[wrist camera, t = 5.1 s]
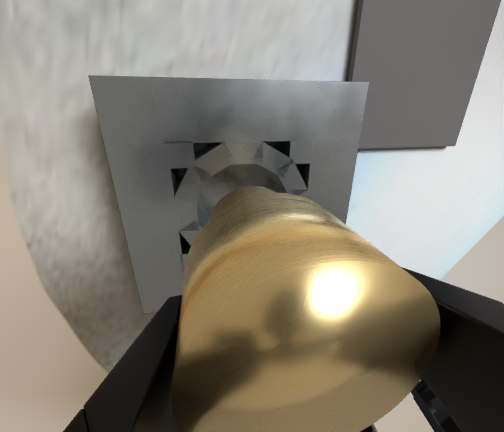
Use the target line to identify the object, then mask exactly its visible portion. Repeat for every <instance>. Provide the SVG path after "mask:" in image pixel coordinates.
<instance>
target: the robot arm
mask: <svg viewBox="0 0 504 432" xmlns="http://www.w3.org/2000/svg"><path fill="white" fill-rule="evenodd" d="M401 268H402V267H401ZM403 269H404V270H405V271H406V272H408V273H409V274H410V275H412V276H413V277H414V278H415V279H417V280H418V281H419V282H421V283H422V284H423V285H424V287H425V288H426V289H427V290H428V291H429V292H430V294H431V295H432V297H433V299H434V300H435V302H436V305H437V308H438V311H439V315H440V324H441V325H440V337H439V341H438V346H437V349H436V352H435V354H434V357H433V359H432V361H431V363H430V365H429V367H428V369H427V371H426V372H425V374H424V375H423V376H422V378H421V381H420V382H418V383H417V385H416V386H415V387H414V388H413V389H412V391H411V393H412V394H413V396H414V400H415V401H416V403H417V405H418V406H419V408H420V409H421V411H422V413H423V414H424V416H425V417H426V419H427V421H428V422H429V424H430V425H431V427H432V429H433V430H434V432H504V304H503V303H502V302H499V301H497V300H494V299H491V298H488V297H485V296H482V295H479V294H477V293H474V292H471V291H468V290H465V289H462V288H459V287H456V286H454V285H451V284H448V283H445V282H442V281H439V280H437V279H434V278H431V277H428V276H425V275H422V274H419V273H417V272H414V271H411V270H408V269H405V268H403ZM181 301H182V295H177V296H172V297H169V298H168V299H167V300H166V302H165V303H164V304H163V305H162V307H161V308H160V309H159V310H158V312H157V313H156V314H155V316H154V317H153V318H152V319H151V321H150V322H149V323H148V324H147V326H146V327H145V328H144V330H143V331H142V332H141V333H140V335H139V336H138V337H137V339H136V340H135V341H134V342H133V344H132V345H131V346H130V347H129V349H128V350H127V351H126V353H125V354H124V355H123V356H122V358H121V359H120V360H119V361H118V363H117V364H116V365H115V367H114V368H113V369H112V370H111V372H110V373H109V374H108V376H107V377H106V378H105V379H104V381H103V382H102V383H101V384H100V386H99V387H98V389H96V391H95V392H94V394H93V395H92V396H91V397H90V399H89V400H88V401H87V402H86V404H85V405H84V409H81V410H80V411H79V412H78V414H77V415H76V416H75V417H74V419H73V420H72V421H71V422H70V424H69V425H68V426H67V427H66V429H65V430H64V431H63V432H183V431H182V429H181V428H180V427H179V425H178V423H177V421H176V419H175V417H174V413H173V409H172V405H171V388H172V379H173V370H174V362H175V353H176V344H177V335H178V327H179V318H180V309H181Z"/></svg>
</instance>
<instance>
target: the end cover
mask: <svg viewBox="0 0 504 432" xmlns="http://www.w3.org/2000/svg"><path fill="white" fill-rule="evenodd" d="M440 325H441V324H440V315H439V311H438V308H437V305H436V302H435V300H434V299H433V297H432V295H431V294H430V292H429V291H428V290H427V289H426V288H425V287H424V285H423V284H422V283H421V282H419V281H418V280H417V279H415V278H414V277H413V276H412V275H410V274H409V273H408V272H406V271H405V270H404V269H403V268H401V267H400V266H399V265H397V264H396V263H395V262H393V261H392V260H391V259H390V258H388V257H387V256H386V255H384V254H383V253H382V252H380V251H379V250H378V249H377V248H375V247H374V246H373V245H371V244H370V243H369V242H367V241H366V240H365V239H364V238H362V237H361V236H360V235H358V234H357V233H356V232H354V231H353V230H352V229H351V228H349V227H348V226H347V225H345V224H344V223H343V222H342V221H340V220H339V219H338V218H336V217H335V216H334V215H332V214H331V213H330V212H329V211H327V210H326V209H325V208H323V207H322V206H320V205H319V204H318V203H316V202H314V201H312V200H310V199H308V198H305V197H302V196H299V195H293V194H288V193H276V192H275V191H273V190H271V189H268V188H265V187H260V186H247V187H242V188H239V189H236V190H234V191H232V192H230V193H228V194H227V195H225V196H224V197H223V198H221V199H220V200H219V201H218V203H217V204H216V205H215V206H214V208H213V209H212V211H211V213H210V216H209V219H208V223H207V224H206V225H205V226H204V227H203V228H202V229H201V231H200V232H199V234H198V235H197V236H196V238H195V240H194V242H193V244H192V246H191V248H190V250H189V253H188V256H187V260H186V267H185V275H184V283H183V292H182V301H181V309H180V318H179V327H178V335H177V344H176V353H175V362H174V370H173V379H172V388H171V405H172V409H173V413H174V417H175V419H176V421H177V423H178V425H179V427H180V428H181V429H182V431H183V432H360V431H362V430H363V429H365V428H367V427H369V426H370V425H372V424H373V423H375V422H376V421H377V420H379V419H380V418H382V417H383V416H384V415H386V414H387V413H388V412H390V411H391V410H392V409H393V408H394V407H395V406H397V405H398V404H399V403H400V402H401V401H402V400H403V399H404V398H405V397H406V396H407V395H408V394H409V393H410V392H411V391H412V389H413V388H414V387H415V386H416V385H417V383H418V382H419V381H420V379H421V378H422V376H423V375H424V374H425V372H426V371H427V369H428V367H429V365H430V363H431V361H432V359H433V357H434V354H435V352H436V349H437V346H438V341H439V337H440Z"/></svg>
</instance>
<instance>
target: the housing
mask: <svg viewBox="0 0 504 432" xmlns="http://www.w3.org/2000/svg"><path fill="white" fill-rule="evenodd" d="M88 76H89V81H90V85H91V89H92V94H93V98H94V102H95V107H96V111H97V115H98V120H99V124H100V128H101V133H102V137H103V141H104V145H105V150H106V154H107V158H108V163H109V167H110V171H111V176H112V180H113V184H114V189H115V193H116V197H117V202H118V206H119V210H120V215H121V219H122V223H123V228H124V232H125V236H126V241H127V245H128V249H129V254H130V258H131V262H132V267H133V271H134V275H135V280H136V284H137V288H138V293H139V297H140V301H141V306H142V310H143V314H144V313H152V312H158V310H159V309H160V308H161V307H162V305H163V304H164V303H165V302H166V300H167V299H168V298H169V297H172V296H177V295H182V292H183V283H184V275H185V267H186V260H187V256H188V253H189V250H190V248H191V246H192V244H193V242H194V240H195V238H196V236H197V235H198V234H199V232H200V231H201V229H202V228H203V227H204V226H205V225H206V224H207V223H208V219H209V216H210V213H211V211H212V209H213V208H214V206H215V205H216V204H217V203H218V201H219V200H220V199H221V198H223V197H224V196H225V195H227V194H228V193H230V192H232V191H234V190H236V189H239V188H242V187H247V186H260V187H265V188H268V189H271V190H273V191H275V192H276V193H288V194H293V195H299V196H302V197H305V198H308V199H310V200H312V201H314V202H316V203H318V204H319V205H320V206H322V207H323V208H325V209H326V210H327V211H329V212H330V213H331V214H332V215H334V216H335V217H336V218H338V219H339V220H340V221H342V222H343V223H344V224H345V225H346V219H347V213H348V207H349V201H350V195H351V189H352V182H353V176H354V170H355V164H356V158H357V152H358V146H359V140H360V134H361V128H362V122H363V116H364V110H365V104H366V98H367V92H368V86H369V82H336V81H295V80H254V79H213V78H172V77H131V76H90V75H88Z"/></svg>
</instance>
